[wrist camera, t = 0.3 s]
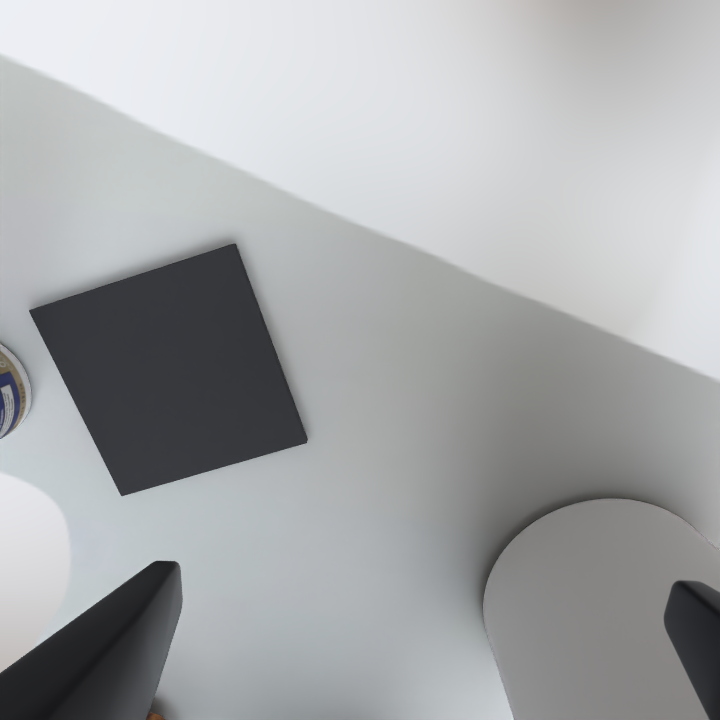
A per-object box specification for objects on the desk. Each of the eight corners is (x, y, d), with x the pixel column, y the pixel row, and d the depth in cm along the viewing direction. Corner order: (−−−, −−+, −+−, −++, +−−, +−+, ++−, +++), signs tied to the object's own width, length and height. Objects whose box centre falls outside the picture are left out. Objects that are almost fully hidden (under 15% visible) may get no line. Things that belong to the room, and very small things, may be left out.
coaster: (307, 439, 24) (307, 443, 23) (125, 492, 24) (121, 496, 24) (236, 243, 21) (233, 243, 21) (33, 309, 22) (28, 310, 21)
